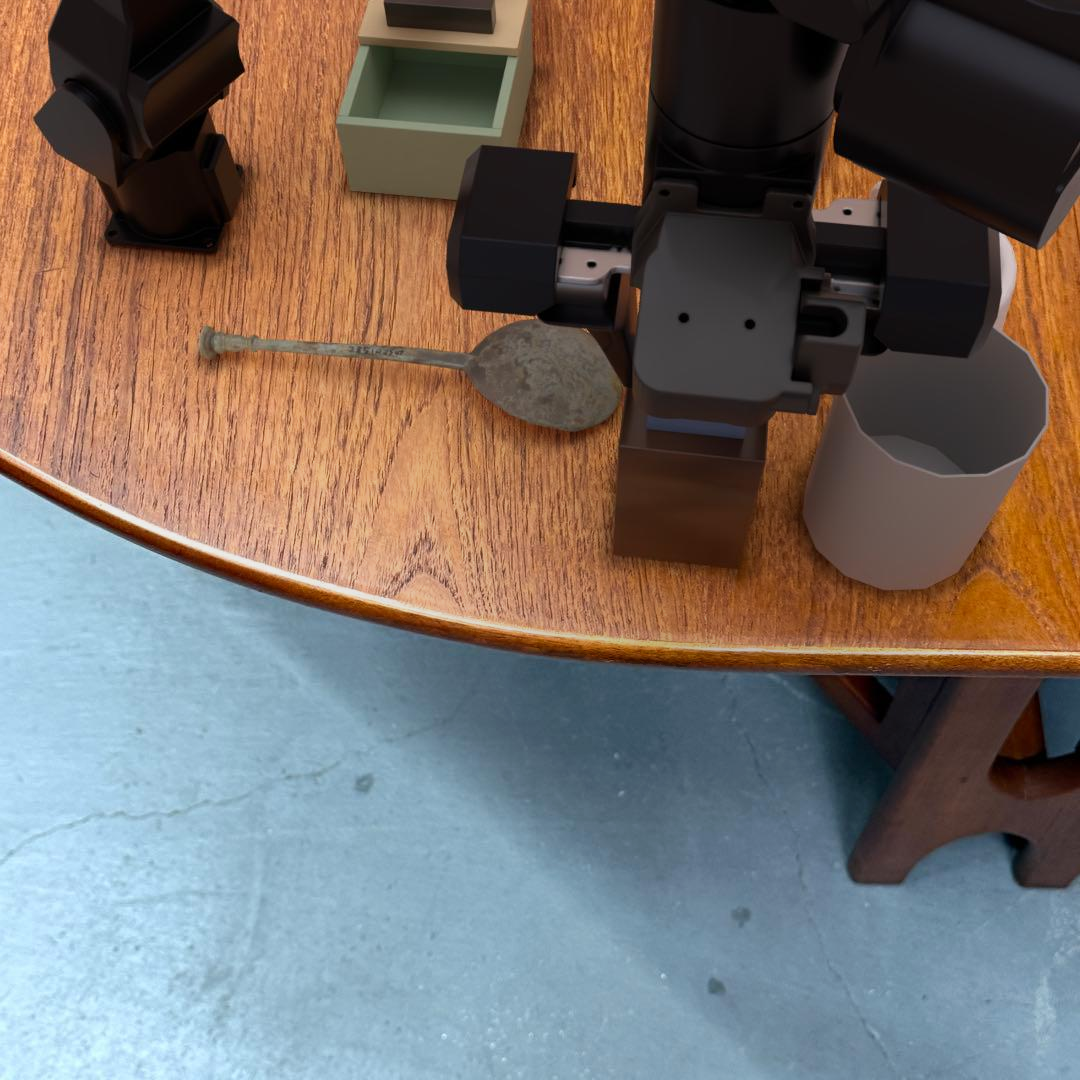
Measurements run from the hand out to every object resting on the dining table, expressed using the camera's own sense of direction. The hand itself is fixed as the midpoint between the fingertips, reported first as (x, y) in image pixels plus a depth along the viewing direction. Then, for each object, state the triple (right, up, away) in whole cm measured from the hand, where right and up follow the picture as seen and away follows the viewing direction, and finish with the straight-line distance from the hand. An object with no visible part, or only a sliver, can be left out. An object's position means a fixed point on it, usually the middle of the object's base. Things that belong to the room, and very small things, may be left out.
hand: (698, 386), depth 51 cm
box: (-12, +18, +22) cm, 30 cm away
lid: (-11, +26, +20) cm, 34 cm away
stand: (0, -5, +9) cm, 10 cm away
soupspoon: (-13, +2, +13) cm, 19 cm away
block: (0, 0, 0) cm, 1 cm away
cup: (+10, -5, +9) cm, 14 cm away
